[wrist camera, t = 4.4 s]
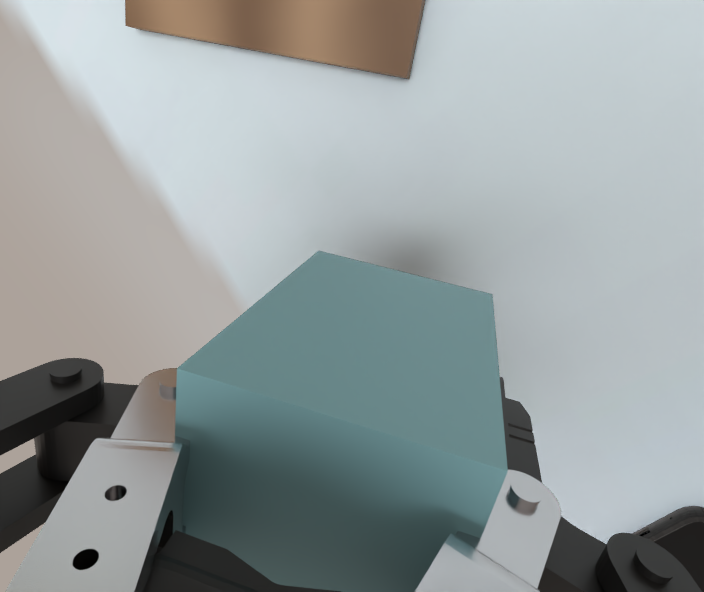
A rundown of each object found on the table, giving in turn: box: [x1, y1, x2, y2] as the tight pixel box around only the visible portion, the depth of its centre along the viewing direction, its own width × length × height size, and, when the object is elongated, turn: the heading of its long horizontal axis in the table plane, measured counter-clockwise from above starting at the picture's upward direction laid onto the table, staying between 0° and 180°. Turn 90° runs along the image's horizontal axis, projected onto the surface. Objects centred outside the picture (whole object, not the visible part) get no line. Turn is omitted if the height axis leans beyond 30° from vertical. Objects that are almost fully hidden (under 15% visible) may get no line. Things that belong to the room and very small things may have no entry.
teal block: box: [175, 251, 508, 592], centre depth 11 cm, size 5×5×7 cm
